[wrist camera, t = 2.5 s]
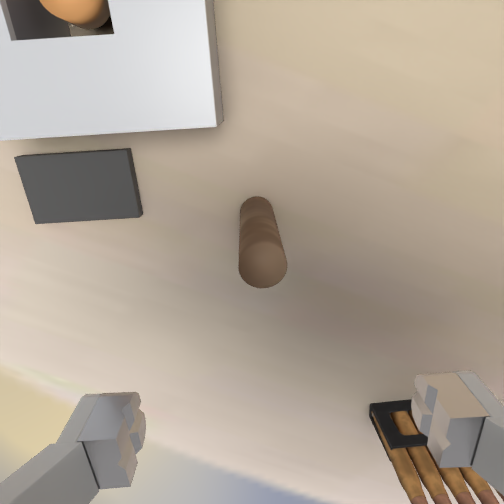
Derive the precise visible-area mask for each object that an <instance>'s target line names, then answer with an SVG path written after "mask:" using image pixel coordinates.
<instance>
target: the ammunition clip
mask: <svg viewBox="0 0 504 504" xmlns="http://www.w3.org/2000/svg"><path fill="white" fill-rule="evenodd" d="M411 402H412V400H402V401H392V402H382V403H371V404H370V416H369V417H370V419H371V421H372V423H373V425H374V427H375V430H376V432H377V434H378V436H379V438H380V440H381V443H382V445H383V447H384V449H385V451H386V453H387V456H388V458H389V460H390V461H391V462H392V464H393V467H394V469H395V471H396V474H397V476H398V479H399V481H400V483H401V485H402V487H403V489H404V490H405V492H406V493H407V495H408V497H409V500H410V502H411V503H412V504H428V502H427V500H426V497H425V494H424V492H423V489H422V486H421V482H420V479H421V481H422V483H423V485H424V486H425V488H426V489H427V490H428V492H429V494H430V496H431V498H432V500H433V501H434V503H435V504H452V503H451V501H450V499H449V497H448V494H447V492H446V490H445V488H444V485H443V482H442V479H443V481H444V482H445V484H446V485H447V486H448V488H449V489H450V490H451V492H452V494H453V496H454V497H455V499H456V500H457V502H458V504H476V503H475V501H474V500H473V498H472V496H471V493H470V492H469V490H468V488H467V486H466V484H465V481H466V482H467V483H468V484H469V486H470V487H471V488H472V490H473V491H474V493H475V494H476V496H477V497H478V498H479V500H480V502H481V503H482V504H499V502H498V500H497V499H496V497H495V496H494V494H493V492H492V490H491V488H490V487H489V485H488V483H487V481H485V480H484V479H483V478H482V477H481V476H480V475H478V474H477V473H476V472H475V471H474V470H472V469H471V468H472V467H452V468H439V466H438V465H437V463H436V461H435V459H434V457H433V455H432V453H431V452H430V450H429V448H428V446H427V443H428V437H427V436H426V435H424V434H423V433H422V432H420V431H419V429H418V427H417V425H416V423H415V421H414V418H413V415H412V408H411ZM411 460H412V461H411ZM412 462H413V463H412ZM434 464H435V465H434ZM413 465H414V466H413ZM414 467H415V468H414ZM415 469H416V470H415ZM416 471H417V472H416ZM417 473H418V474H417ZM418 475H419V476H418ZM419 477H420V479H419ZM441 478H442V479H441ZM464 479H465V481H464ZM494 489H495V488H494ZM495 490H496V489H495ZM496 491H497V490H496ZM497 493H498V494H499V496H501V498H502V499H503V501H504V496H503V495H502V494H501V493H500V492H498V491H497Z"/></svg>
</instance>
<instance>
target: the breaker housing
mask: <svg viewBox="0 0 504 504" xmlns="http://www.w3.org/2000/svg"><path fill="white" fill-rule="evenodd" d="M108 3H109V9H110V14H111V19H112V25H113V30H114V34H108V35H92V36H77V37H71V36H70V31H69V27H68V22H67V21H65V20H63V19H61V18H59V17H57V16H55V15H53V14H52V13H50V12H49V11H48V10H47V9H46V8H45V7H44V6H43V5H42V4H41V2H40V1H39V0H0V141H2V140H18V139H33V138H49V137H65V136H80V135H96V134H111V133H127V132H143V131H158V130H174V129H190V128H205V127H217V126H218V125H219V124H220V123H221V122H222V121H224V120H223V108H222V96H221V85H220V73H219V61H218V50H217V38H216V26H215V15H214V3H213V0H108Z"/></svg>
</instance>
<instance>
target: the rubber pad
mask: <svg viewBox="0 0 504 504" xmlns="http://www.w3.org/2000/svg"><path fill="white" fill-rule="evenodd" d="M14 159H15V162H16V165H17V168H18V171H19V174H20V177H21V180H22V183H23V187H24V190H25V193H26V196H27V199H28V202H29V205H30V208H31V212H32V215H33V218H34V221H35V224H44V223H59V222H75V221H91V220H107V219H123V218H139V217H140V216H141V215H142V214H143V211H142V206H141V201H140V196H139V190H138V185H137V180H136V175H135V169H134V164H133V159H132V154H131V148H129V149H113V150H97V151H82V152H66V153H50V154H35V155H21V156H17V157H14Z"/></svg>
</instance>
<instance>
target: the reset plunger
mask: <svg viewBox="0 0 504 504" xmlns="http://www.w3.org/2000/svg"><path fill="white" fill-rule="evenodd" d="M39 1H40V2H41V4H42V5H43V6H44V7H45V8H46V9H47V10H48V11H49V12H50V13H52V14H53V15H55V16H57V17H59V18H61V19H63V20H65V21H67V22H70V23H72V24H74V25H76V26H78V27H80V28H84V29H95V28H98V27H100V26H102V25H103V24H104V23H105V22H106V21H107V19H108V18H109V16H110V9H109V3H108V0H39Z"/></svg>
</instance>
